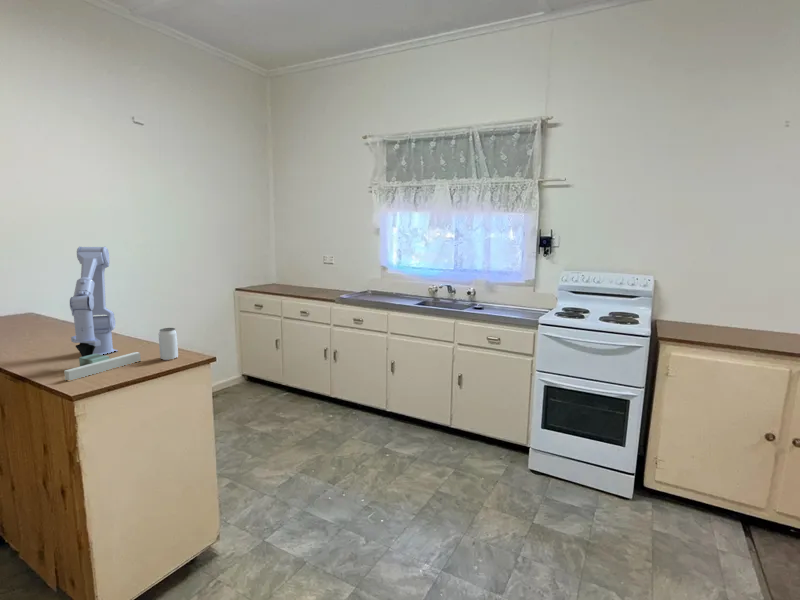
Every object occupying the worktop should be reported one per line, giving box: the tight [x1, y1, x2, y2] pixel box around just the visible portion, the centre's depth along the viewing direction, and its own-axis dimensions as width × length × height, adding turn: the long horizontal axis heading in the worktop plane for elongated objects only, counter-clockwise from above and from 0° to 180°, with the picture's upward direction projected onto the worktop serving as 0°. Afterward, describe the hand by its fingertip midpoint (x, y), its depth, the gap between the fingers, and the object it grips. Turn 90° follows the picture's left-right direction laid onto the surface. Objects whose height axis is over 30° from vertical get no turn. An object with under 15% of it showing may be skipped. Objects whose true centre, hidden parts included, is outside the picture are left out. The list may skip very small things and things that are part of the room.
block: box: [78, 354, 110, 367], centre depth 166 cm, size 8×6×4 cm
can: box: [158, 327, 179, 361], centre depth 179 cm, size 6×6×12 cm
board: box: [63, 351, 142, 381], centre depth 164 cm, size 2×26×4 cm, turn 155°
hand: (87, 362), depth 168 cm, fingers closed
